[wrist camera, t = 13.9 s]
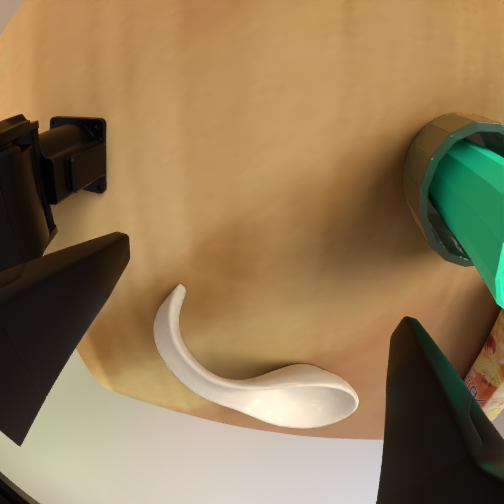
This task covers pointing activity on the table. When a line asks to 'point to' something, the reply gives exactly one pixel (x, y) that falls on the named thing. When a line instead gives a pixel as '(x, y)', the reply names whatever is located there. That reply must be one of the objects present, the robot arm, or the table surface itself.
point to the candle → (474, 207)
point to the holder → (423, 168)
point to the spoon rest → (255, 381)
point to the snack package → (489, 372)
